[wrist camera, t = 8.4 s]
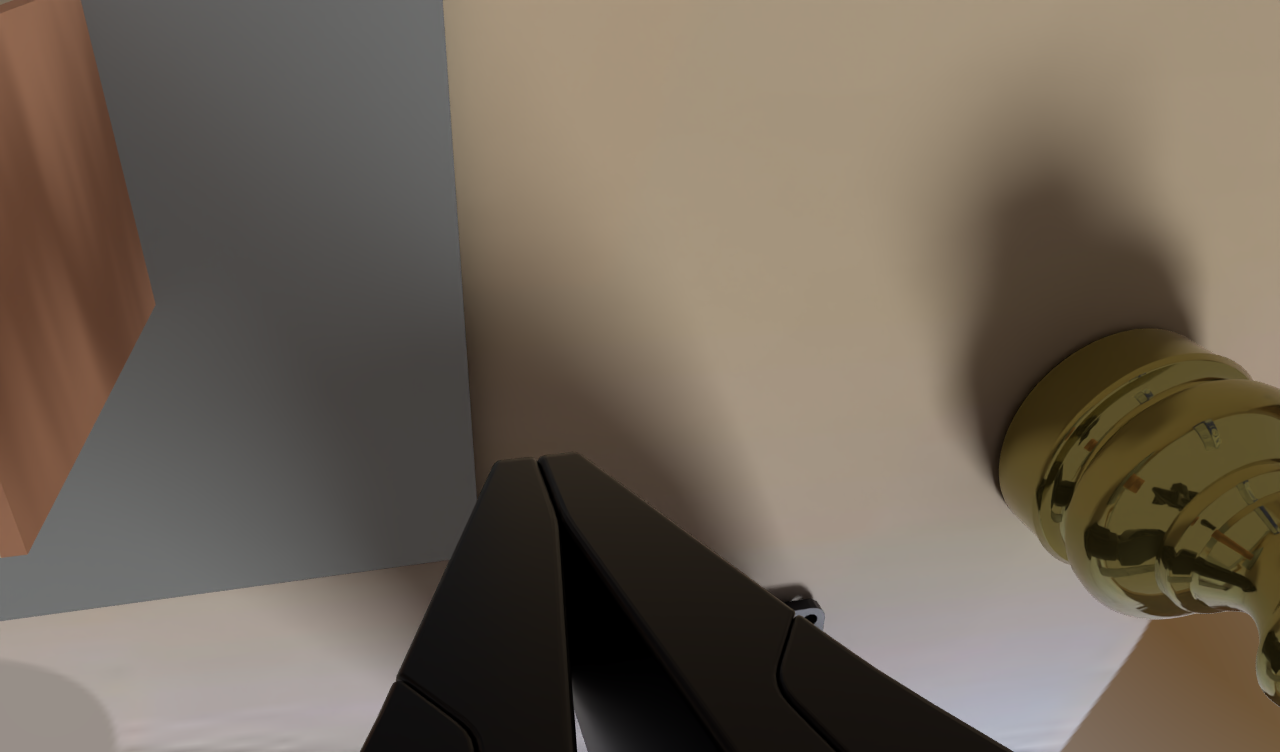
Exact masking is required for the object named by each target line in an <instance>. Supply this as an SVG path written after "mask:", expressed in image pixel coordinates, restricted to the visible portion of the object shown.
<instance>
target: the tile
mask: <svg viewBox="0 0 1280 752" xmlns="http://www.w3.org/2000/svg"><path fill="white" fill-rule="evenodd" d="M155 305H156V304H155V300H154V296H153V292H152V288H151V284H150V280H149V276H148V271H147V267H146V263H145V259H144V255H143V251H142V247H141V243H140V239H139V235H138V231H137V227H136V223H135V219H134V215H133V211H132V206H131V202H130V198H129V194H128V190H127V186H126V182H125V178H124V174H123V170H122V166H121V162H120V158H119V154H118V150H117V146H116V142H115V137H114V133H113V129H112V125H111V121H110V117H109V113H108V109H107V105H106V101H105V97H104V93H103V89H102V85H101V81H100V77H99V72H98V68H97V64H96V60H95V56H94V52H93V48H92V44H91V40H90V36H89V32H88V28H87V24H86V20H85V16H84V12H83V8H82V3H81V0H0V558H4V557H12V556H20V555H28V553H29V551H30V549H31V547H32V545H33V543H34V541H35V539H36V537H37V535H38V533H39V531H40V529H41V527H42V526H43V524H44V522H45V520H46V518H47V516H48V514H49V512H50V510H51V508H52V506H53V504H54V502H55V500H56V498H57V496H58V494H59V492H60V490H61V488H62V486H63V485H64V483H65V481H66V479H67V477H68V475H69V473H70V471H71V469H72V467H73V465H74V463H75V461H76V459H77V457H78V455H79V453H80V451H81V449H82V447H83V445H84V443H85V442H86V440H87V438H88V436H89V434H90V432H91V430H92V428H93V426H94V424H95V422H96V420H97V418H98V416H99V414H100V412H101V410H102V408H103V406H104V404H105V402H106V401H107V399H108V397H109V395H110V393H111V391H112V389H113V387H114V385H115V383H116V381H117V379H118V377H119V375H120V373H121V371H122V369H123V367H124V365H125V363H126V361H127V360H128V358H129V356H130V354H131V352H132V350H133V348H134V346H135V344H136V342H137V340H138V338H139V336H140V334H141V332H142V330H143V328H144V326H145V324H146V322H147V320H148V319H149V317H150V315H151V313H152V311H153V309H154V307H155Z"/></svg>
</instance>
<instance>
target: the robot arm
mask: <svg viewBox="0 0 1280 752" xmlns="http://www.w3.org/2000/svg"><path fill="white" fill-rule="evenodd" d="M807 615H808V616H807ZM806 616H807V617H806ZM824 619H825V615H824V612H823V610H822V609H821V607H820V605H819V604H818V603H817V601H815V600H813V599H805V600H798V601H792V602H786V603H783V602H782V601H780V600H779V599H778V598H776V597H775V596H774V595H772V594H771V593H770V592H768V591H767V590H765V589H764V588H763V587H761V586H760V585H759V584H757V583H756V582H755V581H753V580H752V579H750V578H749V577H748V576H746V575H745V574H744V573H742V572H741V571H740V570H738V569H737V568H735V567H734V566H733V565H731V564H730V563H729V562H727V561H726V560H725V559H723V558H722V557H720V556H719V555H718V554H716V553H715V552H714V551H712V550H711V549H710V548H708V547H707V546H705V545H704V544H703V543H701V542H700V541H699V540H697V539H696V538H695V537H693V536H692V535H690V534H689V533H688V532H686V531H685V530H684V529H682V528H681V527H680V526H678V525H677V524H675V523H674V522H673V521H671V520H670V519H669V518H667V517H666V516H665V515H663V514H662V513H660V512H659V511H658V510H656V509H655V508H654V507H652V506H651V505H650V504H648V503H647V502H645V501H644V500H643V499H641V498H640V497H639V496H637V495H636V494H635V493H633V492H632V491H630V490H629V489H628V488H626V487H625V486H624V485H622V484H621V483H620V482H618V481H617V480H615V479H614V478H613V477H611V476H610V475H609V474H607V473H606V472H605V471H603V470H602V469H600V468H599V467H598V466H596V465H595V464H594V463H592V462H591V461H590V460H588V459H587V458H585V457H584V456H583V455H581V454H579V453H577V452H569V453H561V454H552V455H545V456H542V457H540V458H539V460H538V462H537V461H536V459H534V458H532V457H526V458H517V459H508V460H500V461H497V462H496V463H495V464H494V465H493V467H492V469H491V471H490V473H489V476H488V478H487V480H486V482H485V484H484V486H483V489H482V491H481V493H480V495H479V497H478V500H477V502H476V504H475V506H474V508H473V510H472V513H471V515H470V517H469V519H468V521H467V524H466V526H465V528H464V530H463V532H462V534H461V537H460V539H459V541H458V543H457V545H456V548H455V550H454V552H453V554H452V556H451V559H450V561H449V563H448V565H447V567H446V569H445V572H444V574H443V576H442V578H441V580H440V583H439V585H438V587H437V589H436V591H435V593H434V596H433V598H432V600H431V602H430V604H429V607H428V609H427V611H426V613H425V615H424V618H423V620H422V622H421V624H420V626H419V628H418V631H417V633H416V635H415V637H414V639H413V642H412V644H411V646H410V648H409V650H408V652H407V655H406V657H405V659H404V661H403V663H402V666H401V668H400V670H399V672H398V674H397V677H396V682H394V683H393V685H392V686H391V689H390V691H389V693H388V695H387V697H386V700H385V702H384V704H383V706H382V708H381V710H380V713H379V715H378V717H377V719H376V721H375V723H374V725H373V727H372V729H371V731H370V733H369V735H368V737H367V739H366V741H365V743H364V745H363V747H362V748H361V750H360V752H577V744H576V730H575V716H574V710H575V713H576V716H577V719H578V722H579V725H580V729H581V732H582V735H583V738H584V741H585V744H586V747H587V751H588V752H1013V751H1012V750H1010V749H1008V748H1007V747H1005V746H1003V745H1002V744H1000V743H998V742H997V741H995V740H993V739H992V738H990V737H988V736H987V735H985V734H983V733H981V732H980V731H978V730H976V729H975V728H973V727H971V726H970V725H968V724H966V723H965V722H963V721H961V720H960V719H958V718H956V717H955V716H953V715H951V714H950V713H948V712H946V711H944V710H943V709H941V708H939V707H938V706H936V705H934V704H933V703H931V702H929V701H928V700H926V699H925V698H923V697H921V696H920V695H918V694H917V693H915V692H913V691H912V690H910V689H909V688H907V687H905V686H904V685H902V684H900V683H899V682H897V681H896V680H894V679H892V678H891V677H889V676H888V675H886V674H884V673H883V672H881V671H880V670H878V669H876V668H875V667H873V666H872V665H871V664H869V663H868V662H866V661H865V660H863V659H862V658H860V657H859V656H858V655H856V654H855V653H853V652H852V651H850V650H849V649H847V648H846V647H845V646H843V645H842V644H840V643H839V642H837V641H836V640H834V639H833V638H832V637H830V636H829V635H827V634H826V633H825V632H823V625H824Z"/></svg>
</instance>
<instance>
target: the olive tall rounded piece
mask: <svg viewBox="0 0 1280 752" xmlns="http://www.w3.org/2000/svg"><path fill="white" fill-rule="evenodd" d="M999 482H1000V488H1001V492H1002V495H1003V498H1004V500H1005V502H1006V504H1007V505H1008V507H1009V509H1010V510H1011V511H1012V512H1013V514H1014V515H1015V516H1016V517H1017V518H1018V519H1019V520H1020V521H1021V522H1022V523H1023V524H1024V525H1025V526H1027V527H1028V528H1029V529H1030V530H1031V531H1032V532H1033V533H1034V534H1035V535H1036V536H1037V537H1038V538H1039V540H1040V542H1041V544H1042V545H1043V547H1044V548H1045V549H1046V550H1047V551H1048V552H1049V553H1050V554H1051V555H1052V556H1053V557H1055V558H1056V559H1058V560H1060V561H1062V562H1064V563H1066V564H1068V565H1071V568H1072V570H1073V571H1074V573H1075V575H1076V576H1077V578H1078V579H1079V580H1080V582H1081V583H1082V585H1083V586H1084V587H1085V589H1086V590H1087V591H1088V592H1089V593H1090V594H1091V595H1092V596H1093V597H1094V598H1095V599H1096V600H1097V601H1098V602H1099V603H1101V604H1102V605H1104V606H1106V607H1107V608H1109V609H1111V610H1113V611H1115V612H1118V613H1120V614H1123V615H1126V616H1130V617H1135V618H1143V619H1167V618H1175V617H1182V616H1186V615H1190V614H1194V613H1200V614H1210V613H1219V612H1223V611H1239V612H1240V611H1241V612H1245V613H1247V614H1249V615H1250V616H1251V617H1252V618H1253V620H1254V621H1255V623H1256V625H1257V628H1258V632H1259V647H1258V651H1257V656H1256V674H1257V679H1258V682H1259V685H1260V687H1261V689H1262V690H1263V692H1264V693H1265V695H1266V696H1267V697H1268V698H1269V699H1270V700H1271V701H1272V702H1274V703H1275V704H1277V705H1278V706H1279V707H1280V389H1279V388H1276V387H1274V386H1271V385H1268V384H1265V383H1262V382H1258V381H1253V379H1252V377H1251V376H1250V375H1249V373H1248V372H1247V371H1246V370H1245V369H1244V368H1243V367H1242V366H1240V365H1239V364H1237V363H1236V362H1234V361H1232V360H1230V359H1228V358H1226V357H1222V356H1219V355H1216V354H1214V353H1212V352H1211V351H1209V350H1207V349H1205V348H1204V347H1202V346H1200V345H1199V344H1197V343H1195V342H1193V341H1192V340H1190V339H1188V338H1187V337H1185V336H1183V335H1181V334H1179V333H1176V332H1173V331H1169V330H1164V329H1156V328H1142V329H1133V330H1128V331H1123V332H1119V333H1116V334H1113V335H1110V336H1107V337H1104V338H1102V339H1099V340H1097V341H1095V342H1093V343H1091V344H1089V345H1087V346H1085V347H1083V348H1081V349H1080V350H1078V351H1077V352H1075V353H1073V354H1072V355H1070V356H1069V357H1068V358H1066V359H1065V360H1063V361H1062V362H1061V363H1060V364H1058V365H1057V366H1056V367H1055V368H1054V369H1052V370H1051V371H1050V372H1049V373H1048V374H1047V375H1046V376H1045V377H1044V378H1043V379H1042V380H1041V381H1040V382H1039V383H1038V384H1037V385H1036V387H1035V388H1034V389H1033V390H1032V391H1031V392H1030V394H1029V395H1028V396H1027V398H1026V399H1025V400H1024V402H1023V403H1022V405H1021V406H1020V408H1019V409H1018V411H1017V413H1016V414H1015V416H1014V418H1013V420H1012V422H1011V424H1010V426H1009V428H1008V431H1007V433H1006V436H1005V439H1004V442H1003V445H1002V449H1001V454H1000V461H999Z"/></svg>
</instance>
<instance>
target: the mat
mask: <svg viewBox="0 0 1280 752" xmlns="http://www.w3.org/2000/svg"><path fill="white" fill-rule="evenodd" d="M81 3H82V8H83V12H84V16H85V20H86V24H87V28H88V32H89V36H90V40H91V44H92V48H93V52H94V56H95V60H96V64H97V68H98V72H99V77H100V81H101V85H102V89H103V93H104V97H105V101H106V105H107V109H108V113H109V117H110V121H111V125H112V129H113V133H114V137H115V142H116V146H117V150H118V154H119V158H120V162H121V166H122V170H123V174H124V178H125V182H126V186H127V190H128V194H129V198H130V202H131V206H132V211H133V215H134V219H135V223H136V227H137V231H138V235H139V239H140V243H141V247H142V251H143V255H144V259H145V263H146V267H147V271H148V276H149V280H150V284H151V288H152V292H153V296H154V300H155V304H156V305H155V307H154V309H153V311H152V313H151V315H150V317H149V319H148V320H147V322H146V324H145V326H144V328H143V330H142V332H141V334H140V336H139V338H138V340H137V342H136V344H135V346H134V348H133V350H132V352H131V354H130V356H129V358H128V360H127V361H126V363H125V365H124V367H123V369H122V371H121V373H120V375H119V377H118V379H117V381H116V383H115V385H114V387H113V389H112V391H111V393H110V395H109V397H108V399H107V401H106V402H105V404H104V406H103V408H102V410H101V412H100V414H99V416H98V418H97V420H96V422H95V424H94V426H93V428H92V430H91V432H90V434H89V436H88V438H87V440H86V442H85V443H84V445H83V447H82V449H81V451H80V453H79V455H78V457H77V459H76V461H75V463H74V465H73V467H72V469H71V471H70V473H69V475H68V477H67V479H66V481H65V483H64V485H63V486H62V488H61V490H60V492H59V494H58V496H57V498H56V500H55V502H54V504H53V506H52V508H51V510H50V512H49V514H48V516H47V518H46V520H45V522H44V524H43V526H42V527H41V529H40V531H39V533H38V535H37V537H36V539H35V541H34V543H33V545H32V547H31V549H30V551H29V553H28V555H20V556H12V557H4V558H0V621H5V620H12V619H20V618H27V617H34V616H42V615H49V614H56V613H64V612H71V611H78V610H86V609H93V608H100V607H107V606H115V605H122V604H129V603H137V602H144V601H151V600H159V599H166V598H173V597H181V596H188V595H195V594H203V593H210V592H217V591H225V590H232V589H239V588H247V587H254V586H261V585H269V584H276V583H283V582H291V581H298V580H305V579H313V578H320V577H327V576H335V575H342V574H349V573H357V572H364V571H371V570H378V569H386V568H393V567H400V566H408V565H415V564H422V563H430V562H437V561H444V560H450V559H451V556H452V554H453V552H454V550H455V548H456V545H457V543H458V541H459V539H460V537H461V534H462V532H463V530H464V528H465V526H466V524H467V521H468V519H469V517H470V515H471V513H472V510H473V508H474V506H475V504H476V502H477V494H476V479H475V465H474V450H473V436H472V421H471V407H470V392H469V378H468V363H467V348H466V334H465V319H464V305H463V290H462V276H461V261H460V247H459V232H458V217H457V203H456V188H455V174H454V159H453V145H452V130H451V116H450V101H449V86H448V72H447V57H446V43H445V28H444V14H443V0H81Z"/></svg>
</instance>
